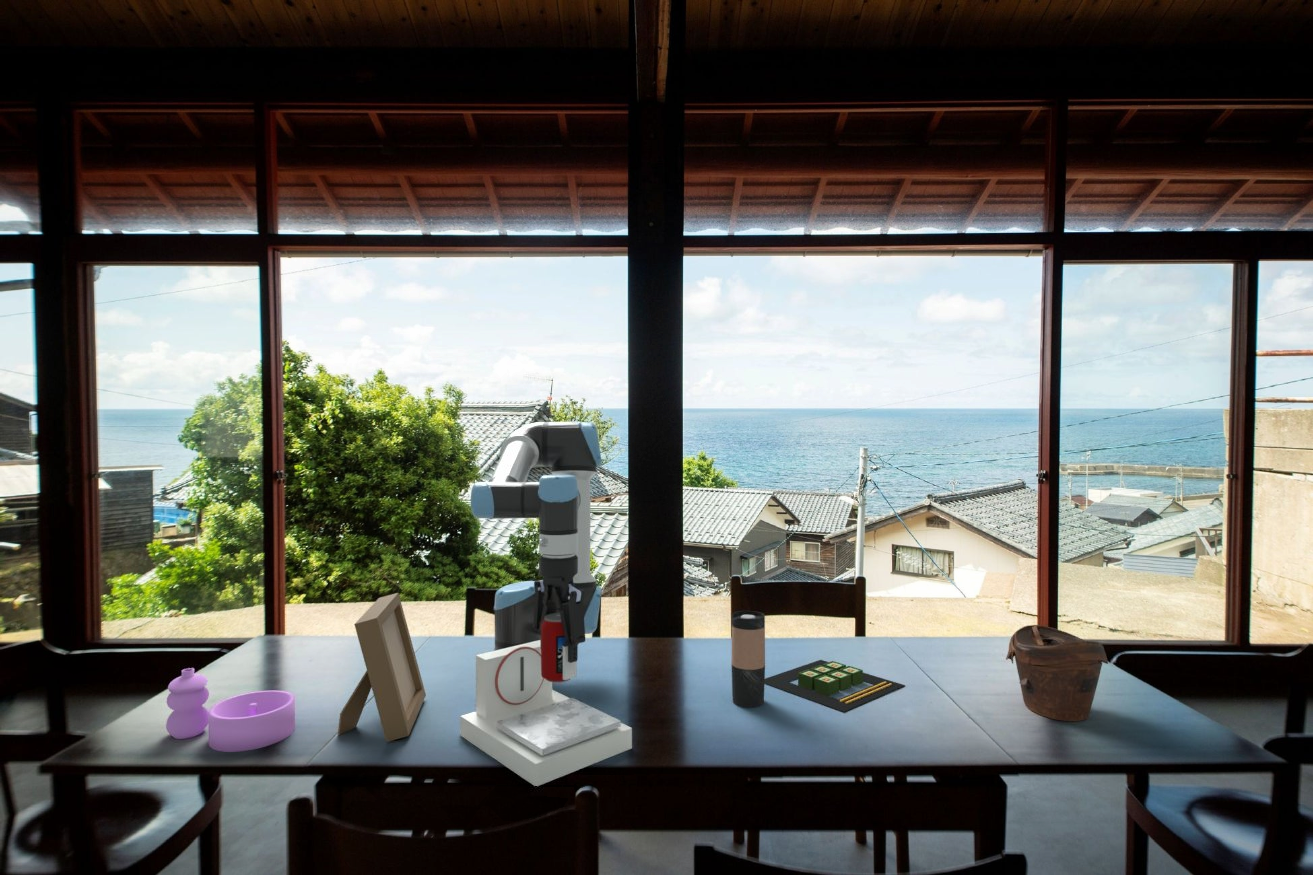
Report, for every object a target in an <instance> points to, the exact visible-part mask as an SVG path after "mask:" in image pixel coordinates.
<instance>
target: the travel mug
mask: <svg viewBox="0 0 1313 875" xmlns="http://www.w3.org/2000/svg"><path fill="white" fill-rule="evenodd" d="M765 625H766V617H765V614H764V613H763V612H760V611H756V610H737V611H734V612H733V613H732V614H731V692H732V703H733V704H734V705H735V706H739V707H741V708H746V709H747V708H749V709H752V708H754V709H755V708H759V707H760V706H761V707H762V706H763V705H764V703H765V685H766V684H765V678H766V626H765Z"/></svg>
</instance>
